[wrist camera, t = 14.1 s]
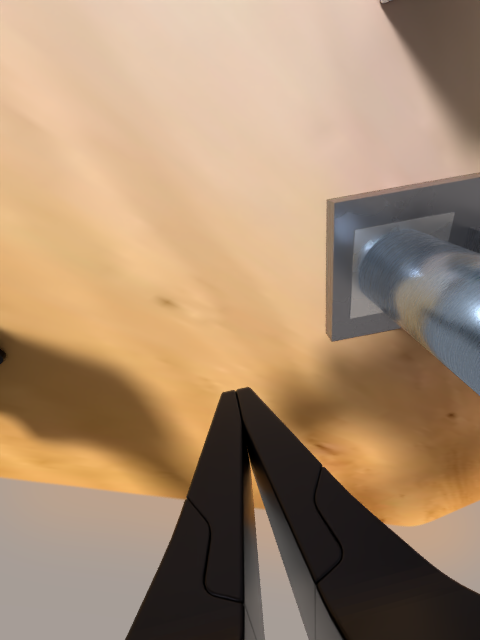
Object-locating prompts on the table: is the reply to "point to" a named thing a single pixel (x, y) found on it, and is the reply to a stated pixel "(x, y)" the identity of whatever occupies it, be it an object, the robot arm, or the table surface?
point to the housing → (429, 295)
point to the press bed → (380, 220)
